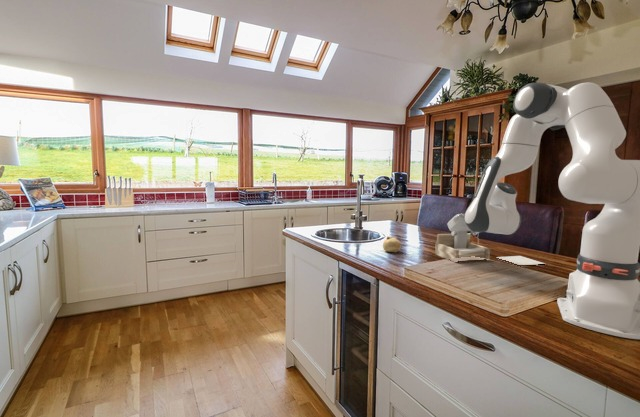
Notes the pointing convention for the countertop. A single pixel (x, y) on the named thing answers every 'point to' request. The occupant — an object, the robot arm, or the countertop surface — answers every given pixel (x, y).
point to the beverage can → (460, 240)
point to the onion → (391, 245)
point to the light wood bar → (471, 252)
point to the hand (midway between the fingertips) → (463, 234)
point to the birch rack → (446, 246)
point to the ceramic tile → (520, 260)
